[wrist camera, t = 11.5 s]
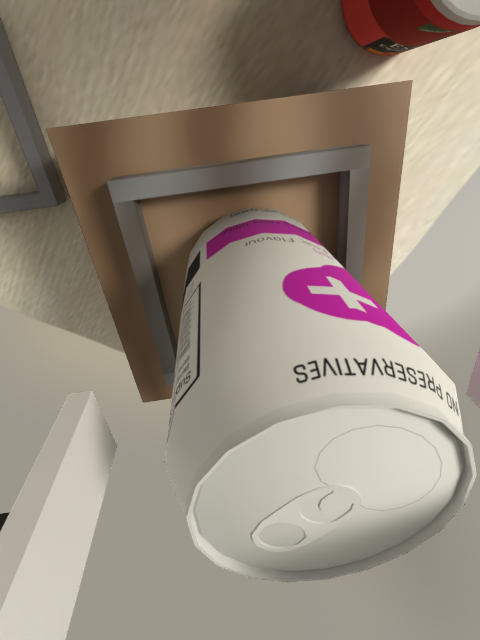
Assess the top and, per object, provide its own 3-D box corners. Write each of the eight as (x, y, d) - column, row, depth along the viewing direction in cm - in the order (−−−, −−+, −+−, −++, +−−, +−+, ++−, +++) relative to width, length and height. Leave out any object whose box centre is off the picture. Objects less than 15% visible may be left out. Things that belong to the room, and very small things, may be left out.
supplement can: (253, 172, 18) (375, 296, 5) (344, 269, 22) (553, 489, 9) (158, 277, 21) (86, 534, 8) (253, 350, 24) (311, 614, 11)
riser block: (332, 95, 27) (429, 76, 16) (328, 296, 36) (388, 379, 25) (106, 125, 27) (32, 129, 15) (160, 321, 36) (139, 417, 24)
